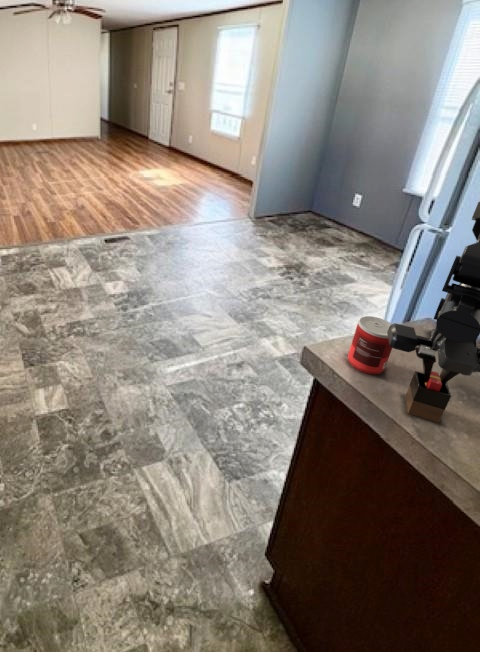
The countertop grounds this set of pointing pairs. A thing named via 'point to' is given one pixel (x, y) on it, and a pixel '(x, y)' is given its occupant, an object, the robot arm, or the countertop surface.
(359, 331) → the canned food
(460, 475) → the countertop surface
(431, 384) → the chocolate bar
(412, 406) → the dark brown cube
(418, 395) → the open brown box
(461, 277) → the robot arm
